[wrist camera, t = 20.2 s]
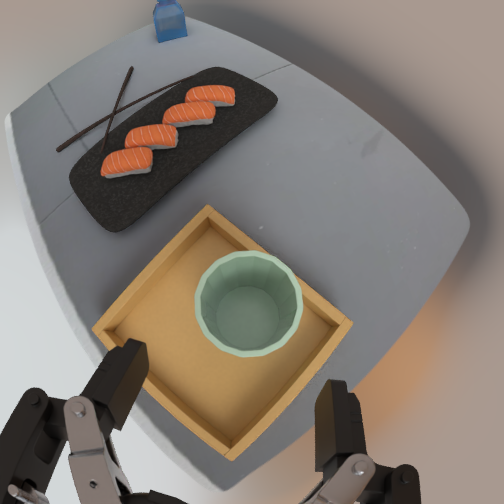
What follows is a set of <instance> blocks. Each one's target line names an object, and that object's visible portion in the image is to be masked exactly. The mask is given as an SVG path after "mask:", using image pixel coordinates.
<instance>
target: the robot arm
mask: <svg viewBox="0 0 504 504" xmlns="http://www.w3.org/2000/svg"><path fill="white" fill-rule="evenodd" d="M148 371H149V358H148V352H147V345H146V343H145V342H142V341H139V340H136V339H132V338H129V339H128V340H127V341H126V343H125V344H124V346H123V347H120V346H116V347H114V348H113V349H111V350H110V351H108V353H107V354H106V356H105V357H104V359H103V361H102V362H101V363H100V365H99V366H98V369H96V371H95V373H94V374H93V376H92V377H91V379H90V380H89V382H88V384H87V385H86V387H85V388H84V390H83V392H82V393H81V394H80V395H79V396H74V397H72V398H70V399H68V400H63V399H57V398H52V397H48V396H47V394H46V393H45V391H43V390H42V389H40V388H30V389H28V390H27V391H26V392H25V393H24V394H23V396H22V398H21V399H20V401H19V403H18V405H17V406H16V408H15V409H14V411H13V413H12V414H11V416H10V418H9V420H8V422H7V423H6V425H5V427H4V429H3V431H2V433H1V434H0V504H49V501H48V499H47V497H46V496H45V492H46V489H47V487H48V484H49V482H50V479H51V477H52V474H53V472H54V469H55V467H56V464H57V462H58V459H59V457H60V455H61V452H62V450H63V448H64V446H65V443H66V441H69V445H70V449H71V454H69V456H68V460H69V465H70V469H71V473H72V476H73V480H74V484H75V487H76V490H77V493H78V497H79V500H80V502H81V504H187V503H186V502H183V501H182V500H180V499H178V498H176V497H172V496H169V495H165V494H162V493H159V492H156V491H153V490H150V492H149V493H133V492H132V490H131V487H130V485H129V482H128V480H127V478H126V476H125V475H124V473H123V471H122V468H121V466H120V463H119V460H118V457H117V454H116V451H115V448H114V445H113V442H112V439H111V435H110V434H111V432H112V429H113V428H115V429H117V430H120V431H121V429H122V427H123V425H124V423H125V421H126V419H127V416H128V414H129V412H130V410H131V408H132V406H133V404H134V402H135V400H136V398H137V396H138V393H139V391H140V389H141V387H142V385H143V383H144V381H145V379H146V377H147V375H148ZM315 472H323V478H322V479H321V481H320V482H319V483H318V484H317V485H316V486H315V487H314V488H313V489H312V491H310V493H309V494H308V495H307V496H306V497H305V498H304V499H303V500H302V501H301V502H300V503H299V504H353V503H354V502H355V501H357V502H360V504H421V494H420V482H419V475H418V472H417V470H416V469H415V468H414V467H413V466H411V465H408V464H403V465H400V466H398V467H397V468H391V467H386V466H382V465H378V464H376V463H375V462H374V461H373V460H372V459H371V458H370V457H369V456H368V454H367V451H366V443H365V435H364V428H363V423H362V414H361V408H360V402H359V400H358V399H357V397H356V395H355V394H354V393H348V391H347V385H346V382H345V381H343V380H331V379H328V380H327V382H326V383H325V385H324V387H323V389H322V390H321V392H320V394H319V396H318V397H317V400H316V403H315Z"/></svg>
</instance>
